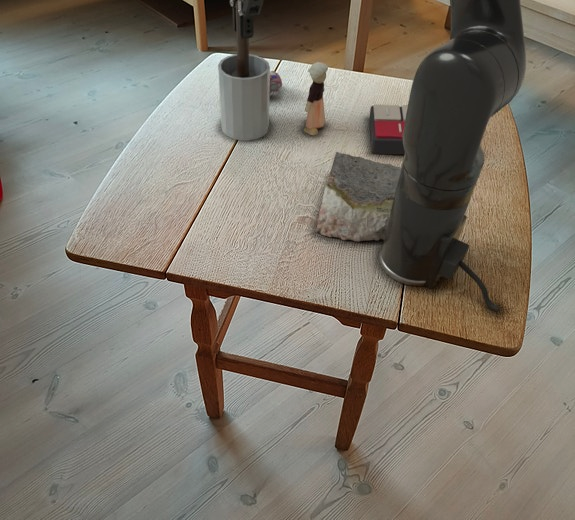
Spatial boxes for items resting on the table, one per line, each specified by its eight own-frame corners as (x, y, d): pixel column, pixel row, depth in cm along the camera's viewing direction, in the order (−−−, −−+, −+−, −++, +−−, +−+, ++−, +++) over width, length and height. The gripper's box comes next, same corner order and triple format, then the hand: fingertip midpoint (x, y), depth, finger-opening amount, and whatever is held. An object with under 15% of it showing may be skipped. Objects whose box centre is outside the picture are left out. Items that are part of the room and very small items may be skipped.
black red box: (370, 101, 102) (452, 103, 101) (368, 122, 105) (448, 124, 104) (373, 136, 94) (461, 138, 93) (370, 156, 97) (456, 159, 97)
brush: (259, 99, 97) (260, 1, 85) (245, 109, 95) (244, 9, 82) (242, 91, 99) (240, -6, 86) (227, 101, 96) (223, 2, 84)
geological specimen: (402, 161, 87) (393, 219, 77) (394, 191, 92) (384, 251, 81) (336, 148, 89) (318, 203, 78) (331, 178, 93) (313, 235, 82)
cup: (277, 124, 102) (279, 64, 93) (249, 146, 97) (248, 84, 88) (241, 108, 105) (239, 48, 96) (211, 129, 100) (207, 67, 91)
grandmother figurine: (321, 140, 99) (327, 75, 90) (300, 136, 99) (304, 72, 90) (327, 117, 104) (334, 53, 95) (307, 114, 105) (312, 50, 95)
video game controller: (232, 106, 108) (234, 86, 101) (228, 86, 109) (230, 64, 103) (281, 101, 110) (286, 81, 103) (276, 82, 111) (281, 60, 105)
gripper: (287, -77, 72) (282, 49, 85) (247, -106, 81) (248, 13, 93) (233, -72, 70) (237, 57, 83) (198, -102, 78) (206, 19, 91)
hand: (243, 33), depth 88 cm, fingers closed on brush, 2 cm apart
